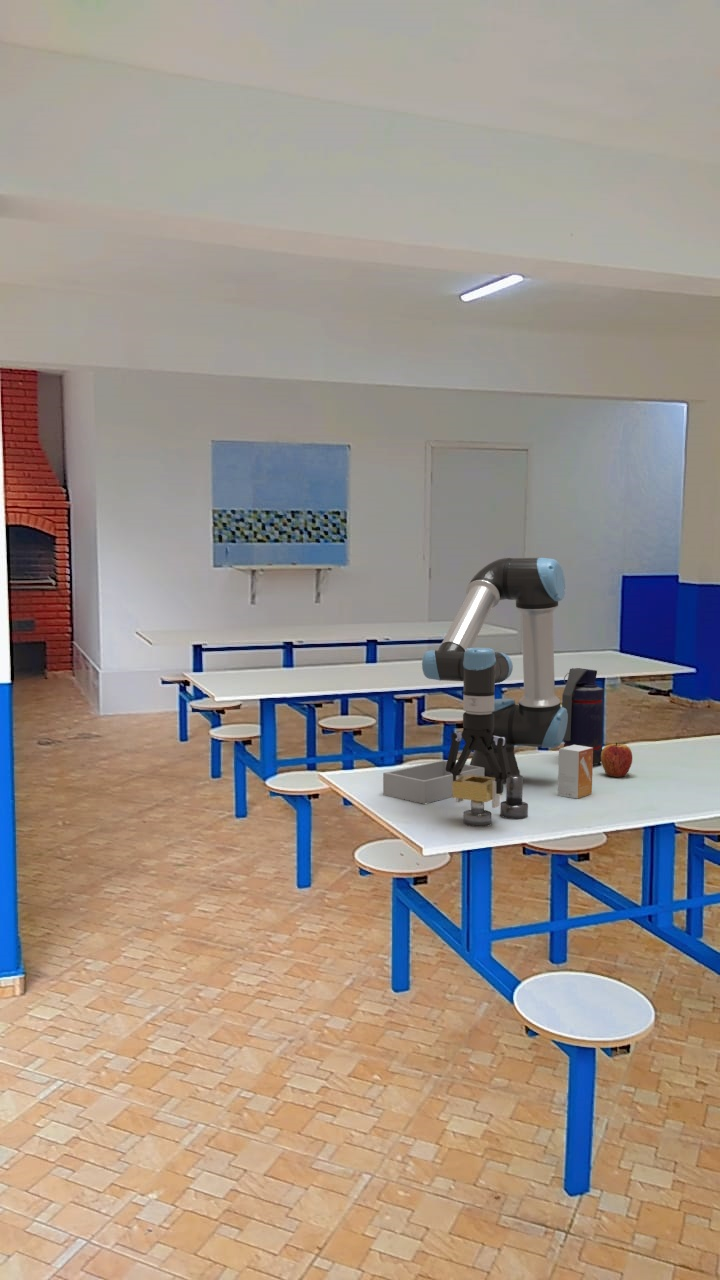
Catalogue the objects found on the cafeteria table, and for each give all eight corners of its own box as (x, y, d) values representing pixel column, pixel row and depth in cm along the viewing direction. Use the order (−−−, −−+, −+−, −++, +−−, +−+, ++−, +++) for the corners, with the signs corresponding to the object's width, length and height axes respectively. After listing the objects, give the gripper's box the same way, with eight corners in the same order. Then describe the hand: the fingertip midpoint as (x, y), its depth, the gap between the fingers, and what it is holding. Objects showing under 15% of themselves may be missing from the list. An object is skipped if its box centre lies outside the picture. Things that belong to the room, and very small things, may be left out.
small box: (578, 799, 269) (579, 751, 268) (557, 795, 273) (558, 748, 272) (592, 794, 275) (593, 747, 274) (572, 790, 279) (573, 744, 278)
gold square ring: (452, 797, 243) (452, 781, 243) (469, 790, 251) (469, 774, 250) (486, 802, 238) (486, 785, 238) (502, 794, 246) (502, 778, 245)
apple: (602, 778, 294) (603, 745, 293) (598, 772, 303) (599, 739, 302) (634, 779, 293) (635, 745, 292) (629, 773, 302) (630, 740, 301)
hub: (457, 822, 245) (457, 790, 244) (475, 817, 250) (475, 786, 249) (479, 828, 240) (479, 795, 240) (497, 822, 245) (497, 790, 244)
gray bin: (383, 794, 274) (383, 772, 274) (443, 780, 292) (443, 759, 291) (424, 804, 263) (424, 781, 263) (484, 788, 281) (484, 767, 280)
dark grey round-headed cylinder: (494, 815, 252) (495, 776, 251) (511, 810, 257) (511, 772, 256) (516, 820, 247) (517, 780, 246) (533, 815, 252) (533, 776, 251)
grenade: (582, 758, 324) (584, 665, 321) (610, 764, 314) (612, 669, 311) (550, 763, 316) (552, 668, 314) (578, 769, 306) (580, 672, 304)
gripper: (431, 710, 245) (430, 801, 247) (514, 717, 234) (512, 813, 236) (445, 706, 252) (444, 795, 253) (526, 713, 240) (525, 806, 242)
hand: (477, 803), depth 245 cm, fingers closed on gold square ring, 9 cm apart
